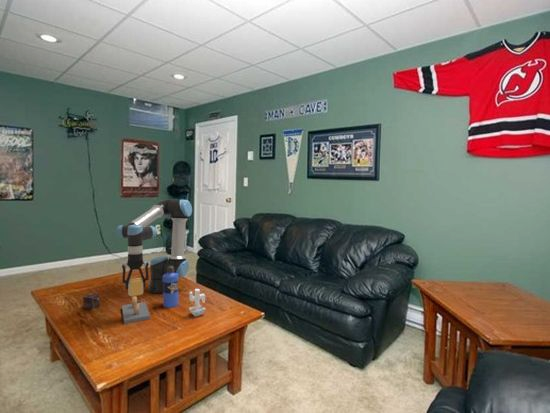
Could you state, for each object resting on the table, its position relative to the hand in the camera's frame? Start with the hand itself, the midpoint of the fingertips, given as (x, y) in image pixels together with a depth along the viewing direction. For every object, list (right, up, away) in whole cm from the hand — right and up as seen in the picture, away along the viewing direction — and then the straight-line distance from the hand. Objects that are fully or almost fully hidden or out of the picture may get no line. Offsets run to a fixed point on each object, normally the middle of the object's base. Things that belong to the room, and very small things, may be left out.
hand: (135, 293), depth 170 cm
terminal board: (-3, -14, +6) cm, 15 cm away
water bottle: (+13, -13, +20) cm, 27 cm away
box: (-33, -13, +14) cm, 38 cm away
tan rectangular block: (0, 0, 0) cm, 0 cm away
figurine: (+33, -14, +7) cm, 37 cm away
